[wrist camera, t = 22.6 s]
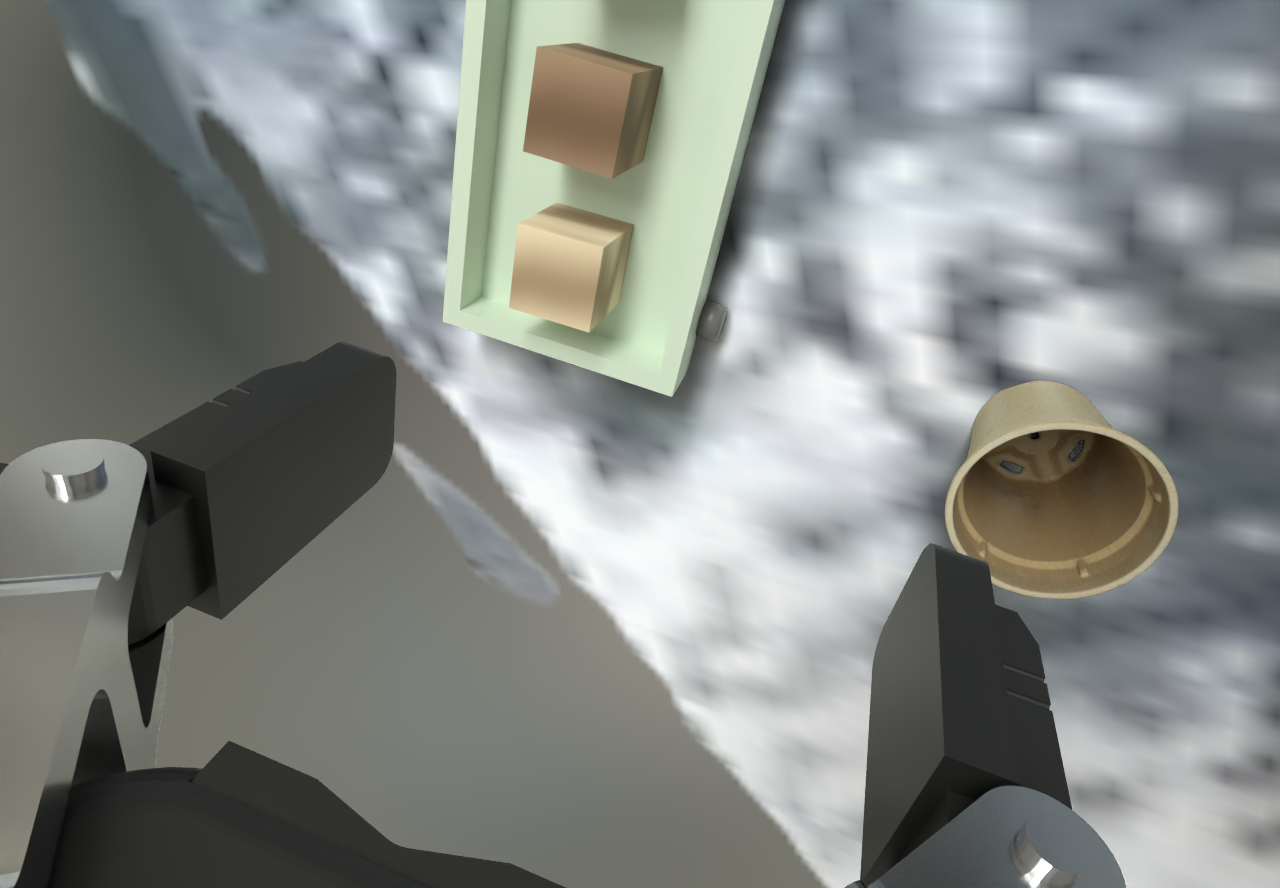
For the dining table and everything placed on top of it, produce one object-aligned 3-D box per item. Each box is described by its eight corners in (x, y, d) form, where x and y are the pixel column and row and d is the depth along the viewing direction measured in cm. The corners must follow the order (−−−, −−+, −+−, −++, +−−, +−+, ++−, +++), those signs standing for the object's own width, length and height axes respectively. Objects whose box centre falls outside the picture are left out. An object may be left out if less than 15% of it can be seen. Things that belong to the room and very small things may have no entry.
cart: (509, -272, 35) (461, -307, 31) (870, -200, 32) (865, -227, 29) (461, 292, 49) (424, 315, 45) (710, 372, 47) (692, 403, 43)
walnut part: (577, 42, 38) (536, 46, 34) (663, 67, 38) (632, 74, 34) (562, 137, 41) (522, 151, 37) (643, 161, 40) (611, 178, 36)
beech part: (556, 202, 43) (518, 223, 38) (634, 224, 42) (603, 247, 38) (546, 280, 45) (508, 307, 41) (619, 302, 44) (589, 332, 40)
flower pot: (935, 501, 46) (940, 591, 39) (943, 351, 42) (950, 421, 35) (1117, 509, 43) (1158, 608, 36) (1145, 348, 39) (1198, 425, 32)
